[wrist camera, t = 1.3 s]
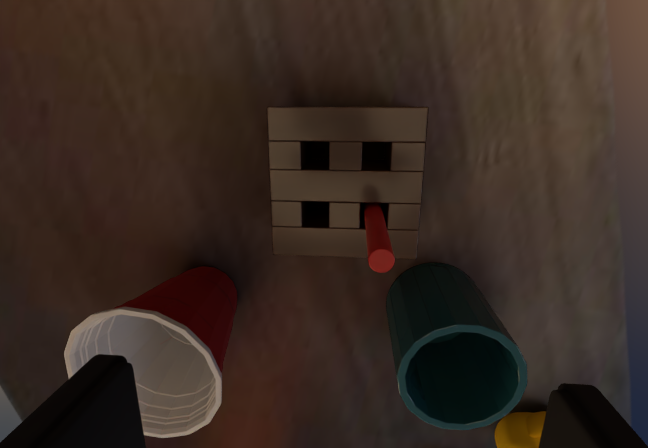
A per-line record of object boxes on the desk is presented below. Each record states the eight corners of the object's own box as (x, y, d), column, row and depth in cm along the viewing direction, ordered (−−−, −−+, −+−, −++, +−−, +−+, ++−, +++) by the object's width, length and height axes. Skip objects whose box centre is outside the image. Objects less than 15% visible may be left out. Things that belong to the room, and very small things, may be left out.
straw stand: (283, 106, 30) (266, 106, 24) (414, 107, 29) (429, 106, 24) (286, 229, 33) (272, 255, 28) (405, 233, 32) (416, 259, 27)
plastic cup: (144, 324, 37) (52, 419, 26) (163, 226, 34) (66, 286, 23) (248, 357, 38) (201, 467, 26) (277, 263, 34) (238, 341, 23)
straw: (363, 188, 32) (368, 248, 18) (378, 189, 32) (395, 249, 18) (362, 203, 32) (367, 272, 19) (377, 204, 32) (394, 273, 19)
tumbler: (387, 260, 33) (400, 321, 24) (485, 264, 33) (538, 328, 23) (383, 341, 36) (393, 426, 26) (473, 345, 35) (517, 434, 26)
